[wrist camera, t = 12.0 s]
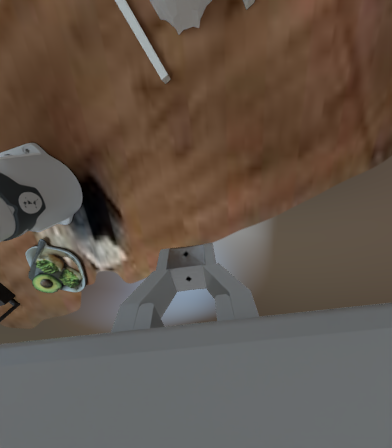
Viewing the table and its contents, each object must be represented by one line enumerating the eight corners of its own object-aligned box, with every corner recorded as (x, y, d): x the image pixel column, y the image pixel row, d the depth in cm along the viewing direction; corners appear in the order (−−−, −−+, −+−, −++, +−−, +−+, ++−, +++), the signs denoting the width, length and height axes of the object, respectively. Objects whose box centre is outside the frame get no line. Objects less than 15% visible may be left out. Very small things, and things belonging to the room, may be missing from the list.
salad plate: (18, 231, 47) (-1, 240, 43) (82, 242, 47) (69, 252, 43) (37, 281, 56) (23, 292, 52) (90, 290, 56) (81, 302, 52)
